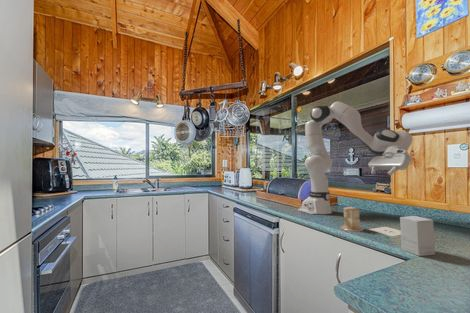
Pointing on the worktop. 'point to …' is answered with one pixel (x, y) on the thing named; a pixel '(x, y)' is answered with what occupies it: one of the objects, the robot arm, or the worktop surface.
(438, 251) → the worktop surface
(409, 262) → the worktop surface
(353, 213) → the maple block
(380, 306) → the worktop surface
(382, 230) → the card
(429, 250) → the supplement box
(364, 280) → the worktop surface
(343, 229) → the coaster
